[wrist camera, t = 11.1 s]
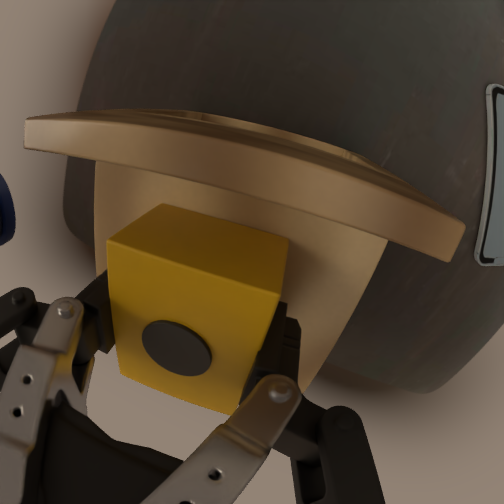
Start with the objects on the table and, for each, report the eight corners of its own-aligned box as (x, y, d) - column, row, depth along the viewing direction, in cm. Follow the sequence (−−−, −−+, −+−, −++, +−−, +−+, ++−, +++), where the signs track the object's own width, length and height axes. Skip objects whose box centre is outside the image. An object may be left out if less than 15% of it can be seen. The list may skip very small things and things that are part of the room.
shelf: (169, 255, 23) (66, 375, 11) (191, 110, 18) (24, 118, 5) (306, 297, 23) (294, 460, 10) (359, 154, 17) (468, 226, 5)
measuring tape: (153, 329, 13) (119, 381, 10) (161, 202, 10) (102, 241, 7) (247, 360, 13) (230, 423, 10) (290, 238, 10) (280, 299, 7)
